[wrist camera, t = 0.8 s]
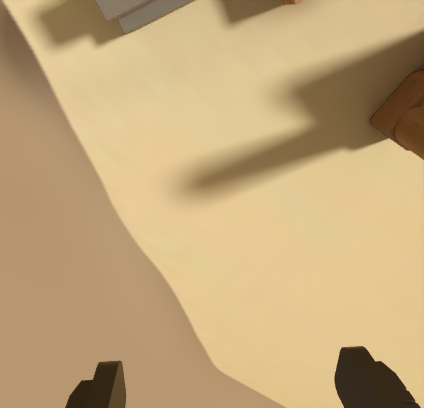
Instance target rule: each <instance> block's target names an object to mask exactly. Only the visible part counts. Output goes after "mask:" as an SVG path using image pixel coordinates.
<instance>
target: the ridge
mask: <svg viewBox="0 0 424 408" xmlns="http://www.w3.org/2000/svg"><path fill="white" fill-rule="evenodd" d="M193 1H195V0H96V2H97V4H98V6H99V8H100V10H101V11H102V13H103V15H104V17H105V19H106V21H114V20H118V21H119V23H120V25H121V27H122V29H123V31H124V33H125V34H126V33H130V32H134V31H136V30H138V29H140V28H142V27H144V26H146V25H147V24H149V23H151V22H153V21H155V20H157V19H159V18H161V17H163V16H165V15H167V14H169V13H171V12H173V11H175V10H177V9H179V8H181V7H183V6H185V5H187V4H189V3H191V2H193Z"/></svg>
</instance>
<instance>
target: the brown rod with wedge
mask: <svg viewBox="0 0 424 408" xmlns="http://www.w3.org/2000/svg"><path fill="white" fill-rule="evenodd" d="M369 123H370V125H372V126H373V127H375V128H376V129H377V130H379V131H380V132H381V133H383V134H384V135H386V136H387V137H388V138H390V139H391V140H393V141H394V142H396V143H397V144H398V145H400V146H401V147H403V148H404V149H405V150H409V151H410V150H411V151H412V152H413V153H415V154H416V155H418V156H419V157H420V158H422V159H423V160H424V70H421V71H417V72H414V73H411V74H410V75H409V76H408V77H407V79H406V80H405V81H404V82H403V83H402V84H401V85H400V86H399V88H398V89H397V90H396V91H395V92H394V93H393V94H392V95H391V97H390V98H389V99H388V100H387V101H386V102H385V103H384V104H383V106H382V107H381V108H380V109H379V110H378V111H377V112H376V113H375V115H374V116H373V117H372V118H371V119H370V121H369Z"/></svg>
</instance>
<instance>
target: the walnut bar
mask: <svg viewBox="0 0 424 408" xmlns="http://www.w3.org/2000/svg"><path fill="white" fill-rule="evenodd" d="M301 1H302V0H283V3H284V5H290V4H297V3H299V2H301Z"/></svg>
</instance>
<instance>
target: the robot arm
mask: <svg viewBox="0 0 424 408" xmlns="http://www.w3.org/2000/svg"><path fill="white" fill-rule="evenodd" d="M335 387H336V390H337V393H338V396H339V398H340V400H341V402H342V404H343V406H344V408H421V407H420V406H419V405H418V403H416V402H415V399H414V398H413V397H412V395H411V394H410V392H409V391H407V390H406V387H405V386H404V384H403V383H402V382H401V380H400V379H399V377H398V376H397V375H396V373H395V372H393V371H392V370H391V369H390V368H389V367H387V366H386V365H385V364H384V363H383V362H381V361H376V362H375V361H374V359H373V358H372V356H371V355H370V353H369V352H368V350H367V349H366V348H365V347H363V346H357V347H343V348H341V350H340V354H339V359H338V363H337V368H336V372H335ZM125 404H126V388H125V381H124V373H123V366H122V362H121V361H108V362H99V363H98V365H97V368H96V371H95V375H94V378H93V380H85V381H81V382H80V383H79V385H78V386H77V387H76V388H75V390H74V391H73V392H72V394H71V395H70V396H69V399H68V402H67V405H66V407H65V408H125Z"/></svg>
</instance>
